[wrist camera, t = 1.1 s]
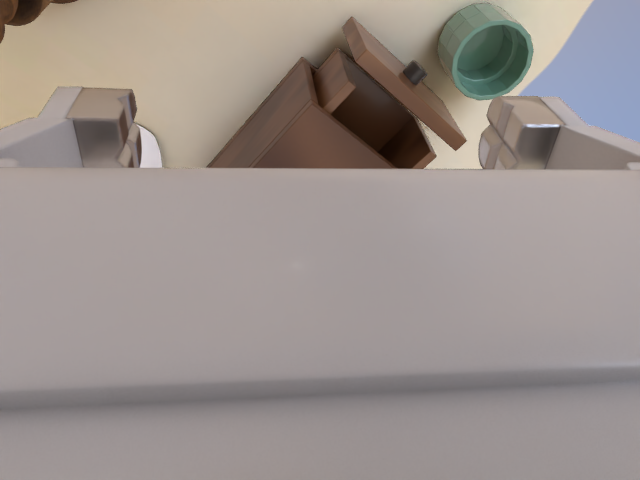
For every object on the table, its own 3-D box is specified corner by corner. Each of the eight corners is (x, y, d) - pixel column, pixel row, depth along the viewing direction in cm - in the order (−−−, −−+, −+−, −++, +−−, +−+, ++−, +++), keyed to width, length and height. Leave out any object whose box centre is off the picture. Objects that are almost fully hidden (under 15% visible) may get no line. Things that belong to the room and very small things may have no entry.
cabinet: (302, 56, 47) (311, 103, 40) (402, 140, 53) (426, 194, 46) (201, 172, 53) (194, 231, 46) (301, 236, 59) (309, 296, 52)
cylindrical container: (480, -16, 45) (501, 1, 41) (525, 36, 48) (548, 57, 44) (421, 45, 47) (435, 67, 44) (467, 90, 51) (484, 114, 47)
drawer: (362, 3, 44) (379, 35, 38) (452, 91, 49) (479, 130, 44) (247, 134, 50) (247, 178, 44) (339, 199, 56) (349, 246, 50)
